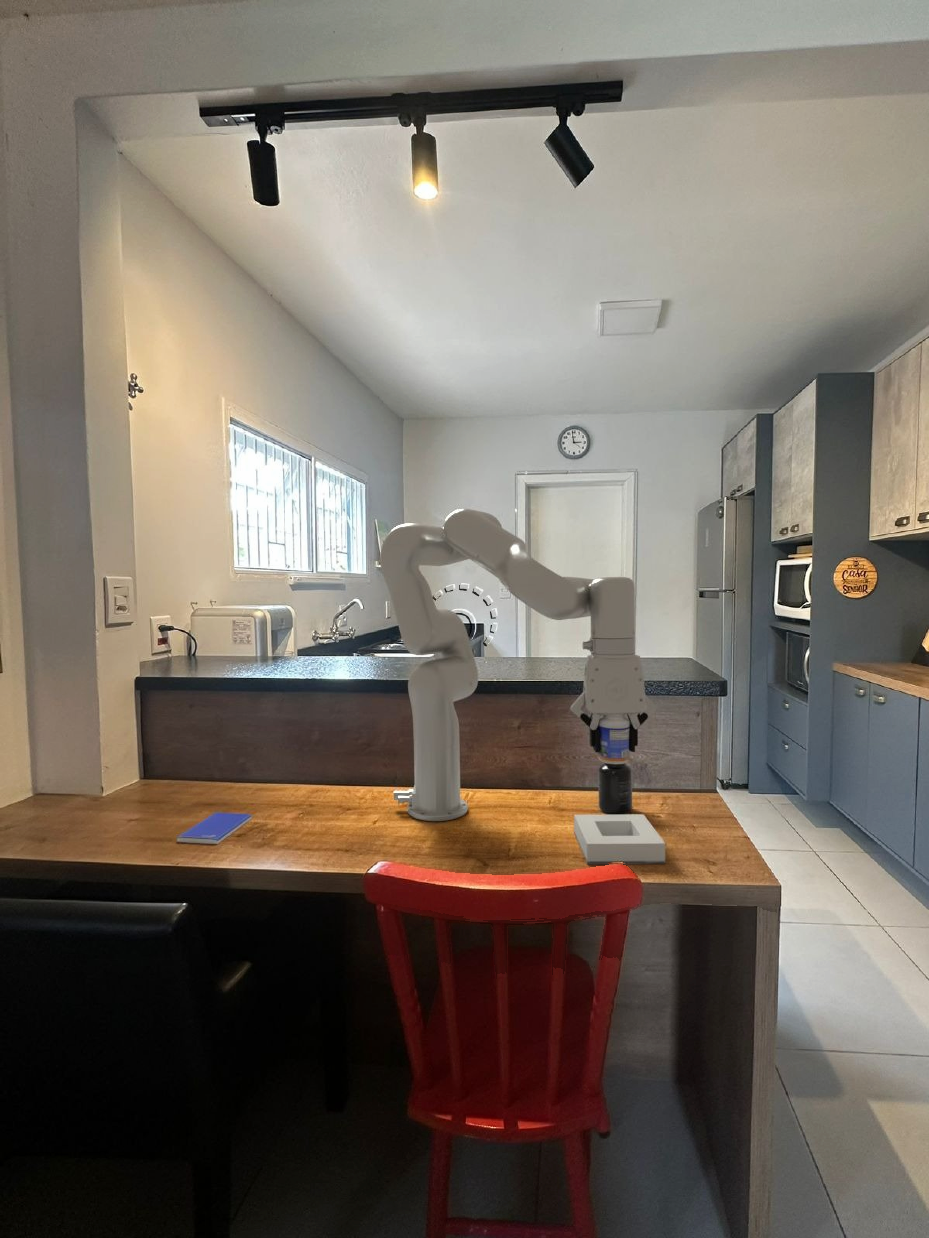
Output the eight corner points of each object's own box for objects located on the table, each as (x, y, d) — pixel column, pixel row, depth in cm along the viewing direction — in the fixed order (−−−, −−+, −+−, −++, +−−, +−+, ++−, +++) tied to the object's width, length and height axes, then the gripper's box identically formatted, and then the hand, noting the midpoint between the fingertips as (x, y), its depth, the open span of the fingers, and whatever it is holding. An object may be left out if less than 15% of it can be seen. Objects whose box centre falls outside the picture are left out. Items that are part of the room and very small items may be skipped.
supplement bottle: (629, 804, 129) (629, 748, 128) (635, 816, 122) (635, 757, 121) (596, 803, 130) (596, 748, 129) (600, 815, 123) (600, 757, 122)
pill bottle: (594, 756, 109) (593, 703, 109) (623, 755, 109) (623, 702, 109) (603, 765, 104) (603, 709, 103) (634, 764, 104) (633, 708, 104)
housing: (587, 864, 101) (587, 843, 101) (574, 832, 114) (574, 814, 114) (665, 863, 101) (665, 843, 101) (643, 832, 114) (643, 814, 114)
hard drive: (217, 838, 111) (251, 813, 123) (176, 835, 112) (214, 811, 125) (217, 846, 111) (251, 821, 123) (177, 844, 112) (214, 819, 125)
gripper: (566, 650, 102) (568, 756, 103) (668, 649, 102) (669, 755, 103) (560, 646, 110) (561, 745, 110) (655, 645, 109) (656, 744, 110)
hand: (613, 749), depth 106 cm, fingers closed on pill bottle, 5 cm apart
